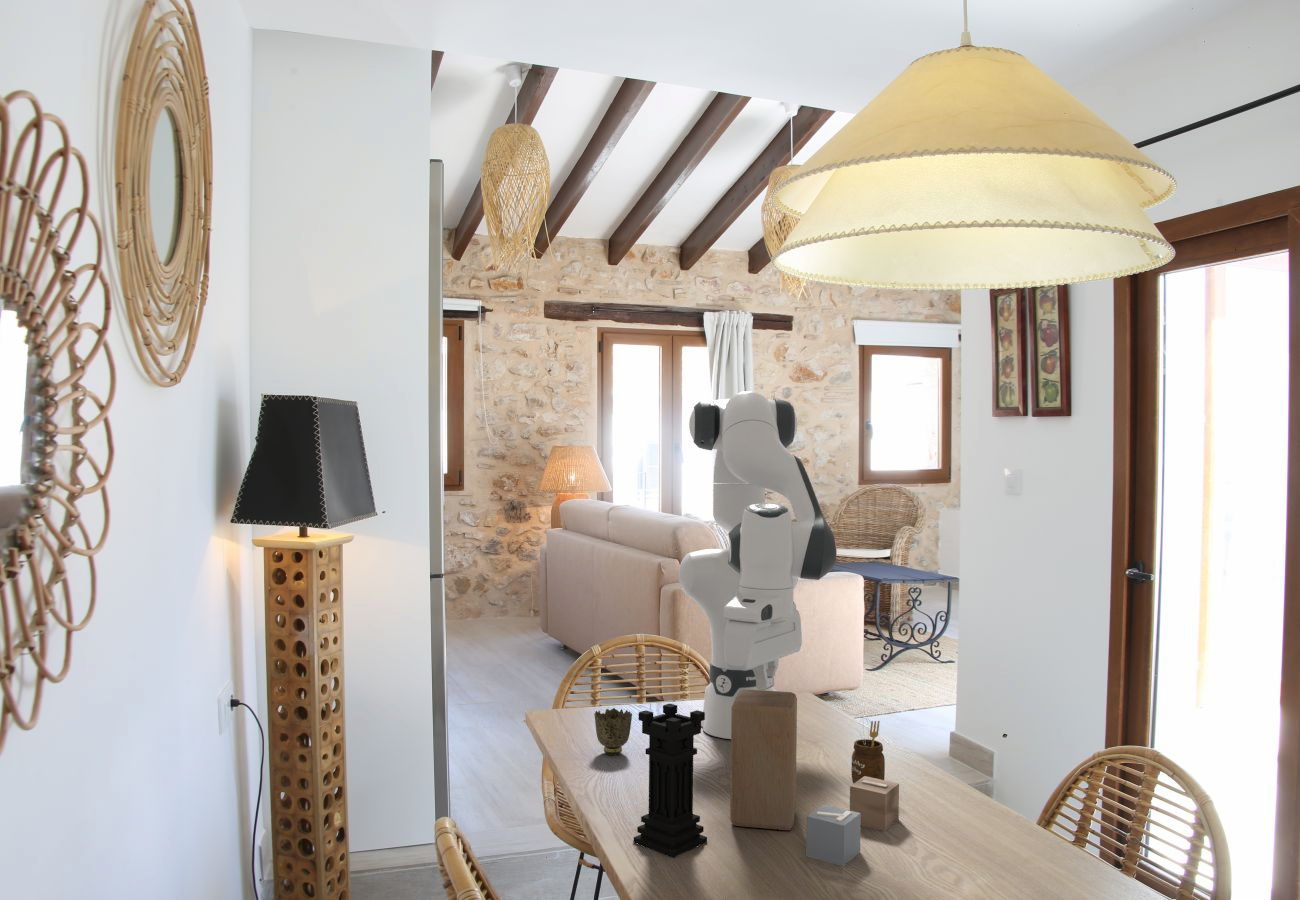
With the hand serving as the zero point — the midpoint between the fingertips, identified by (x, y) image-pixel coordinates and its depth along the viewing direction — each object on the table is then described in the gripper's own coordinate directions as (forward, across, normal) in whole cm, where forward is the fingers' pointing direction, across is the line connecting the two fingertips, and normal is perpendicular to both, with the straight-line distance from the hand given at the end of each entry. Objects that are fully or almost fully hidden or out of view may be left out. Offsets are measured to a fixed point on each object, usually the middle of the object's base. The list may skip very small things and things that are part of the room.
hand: (765, 688), depth 159 cm
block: (+22, 0, 0) cm, 22 cm away
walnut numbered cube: (+22, -10, +15) cm, 28 cm away
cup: (+21, -12, -40) cm, 47 cm away
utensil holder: (+22, -27, +7) cm, 35 cm away
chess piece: (+22, +17, -7) cm, 28 cm away
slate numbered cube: (+22, +6, +15) cm, 27 cm away
